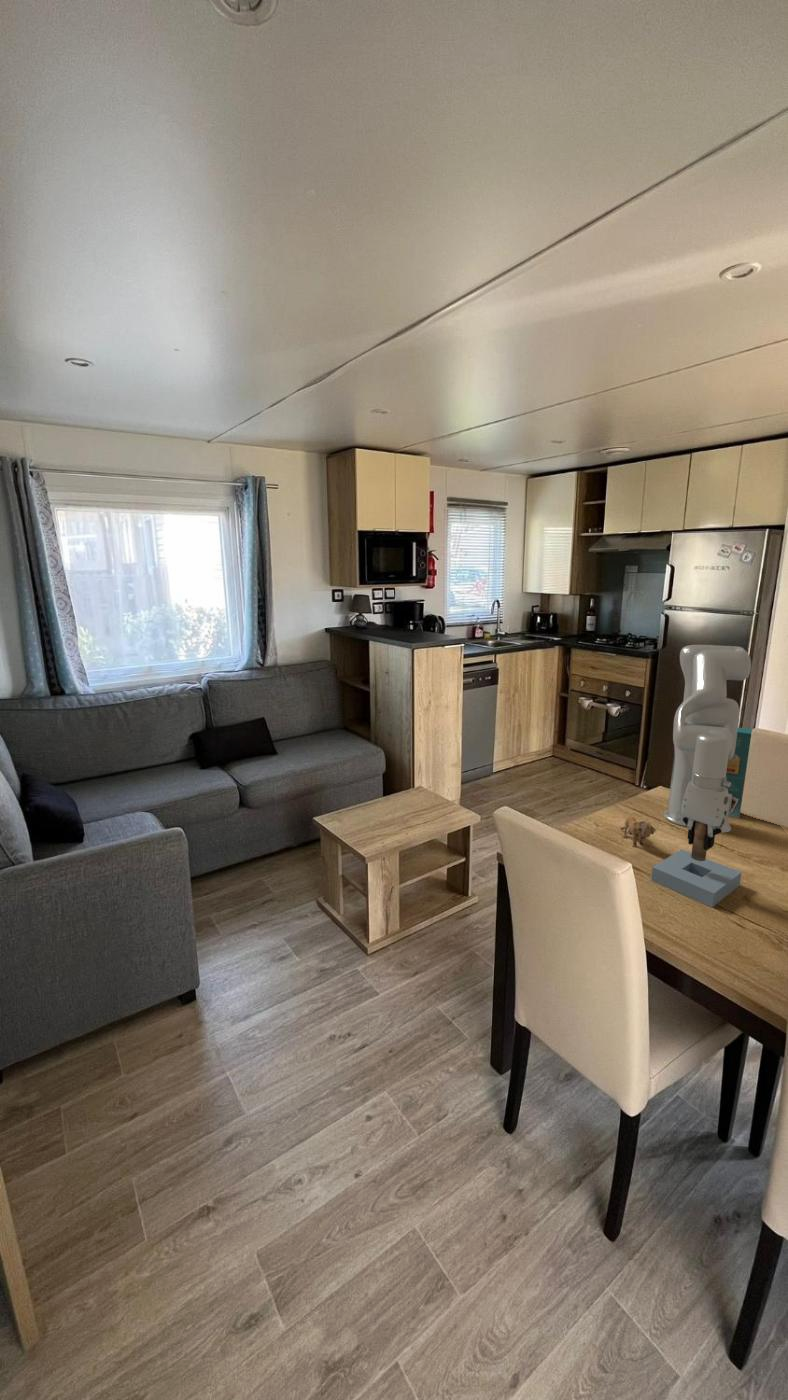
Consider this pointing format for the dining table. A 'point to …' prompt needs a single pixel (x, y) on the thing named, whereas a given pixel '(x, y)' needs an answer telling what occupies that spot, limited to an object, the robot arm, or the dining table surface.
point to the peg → (699, 841)
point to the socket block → (696, 877)
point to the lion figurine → (638, 830)
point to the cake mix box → (734, 771)
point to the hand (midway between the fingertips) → (699, 845)
